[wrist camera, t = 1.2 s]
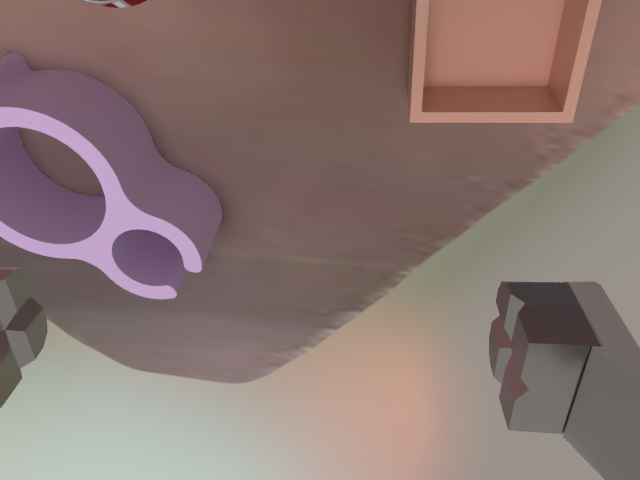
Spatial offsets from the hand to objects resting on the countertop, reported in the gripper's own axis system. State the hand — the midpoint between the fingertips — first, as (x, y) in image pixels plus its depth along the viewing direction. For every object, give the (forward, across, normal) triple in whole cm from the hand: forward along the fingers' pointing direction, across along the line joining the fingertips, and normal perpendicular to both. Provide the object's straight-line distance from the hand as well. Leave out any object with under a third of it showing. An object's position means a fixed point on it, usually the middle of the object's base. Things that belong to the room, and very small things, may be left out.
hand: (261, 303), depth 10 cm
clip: (+34, +19, +13) cm, 41 cm away
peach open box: (+32, -10, +1) cm, 33 cm away
